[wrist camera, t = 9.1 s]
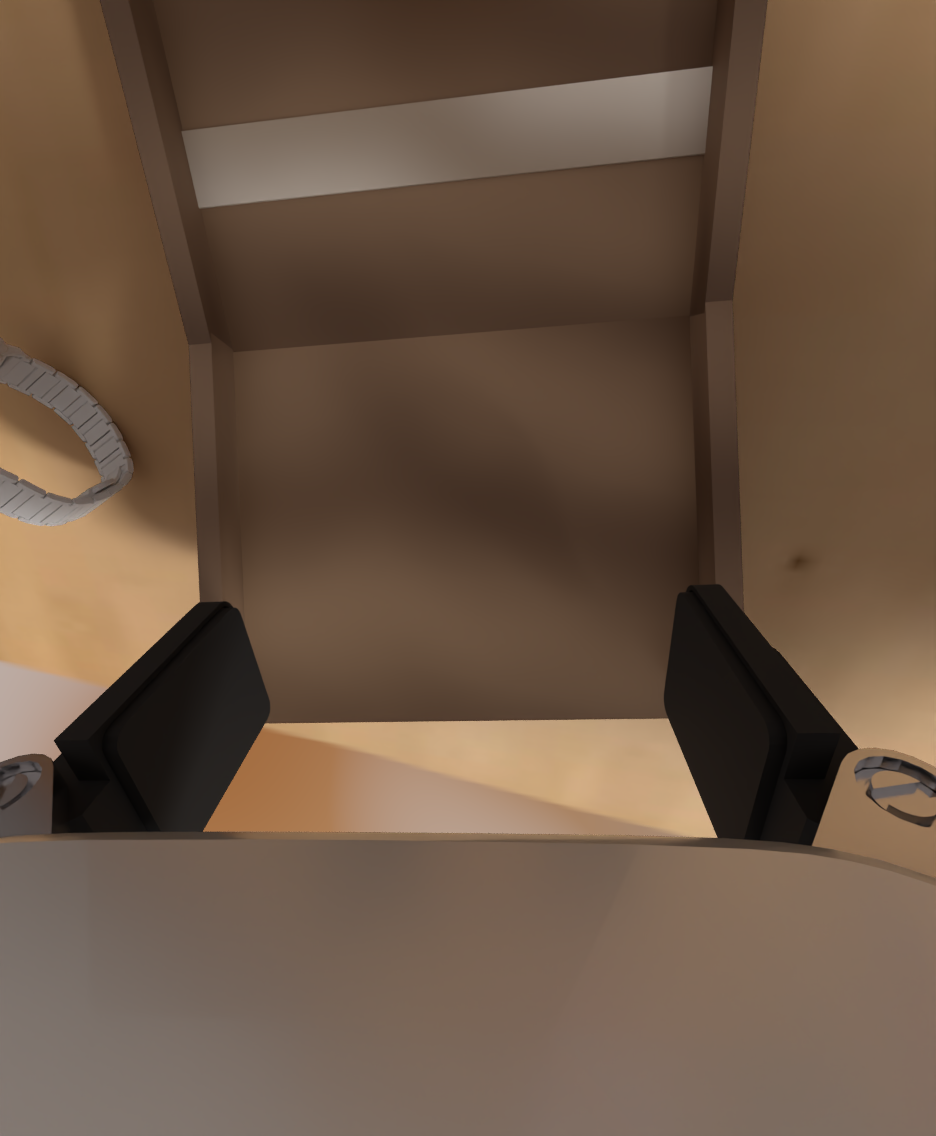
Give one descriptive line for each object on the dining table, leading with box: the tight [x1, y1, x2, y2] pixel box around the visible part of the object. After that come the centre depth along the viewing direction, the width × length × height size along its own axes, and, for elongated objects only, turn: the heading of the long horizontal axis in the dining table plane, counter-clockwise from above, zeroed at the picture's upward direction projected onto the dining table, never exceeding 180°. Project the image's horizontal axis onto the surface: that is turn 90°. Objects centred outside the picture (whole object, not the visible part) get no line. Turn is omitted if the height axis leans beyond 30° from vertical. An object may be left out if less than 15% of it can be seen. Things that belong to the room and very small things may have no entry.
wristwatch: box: [0, 338, 134, 526], centre depth 14 cm, size 3×5×5 cm, turn 32°
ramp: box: [100, 0, 768, 723], centre depth 11 cm, size 22×13×7 cm, turn 4°
